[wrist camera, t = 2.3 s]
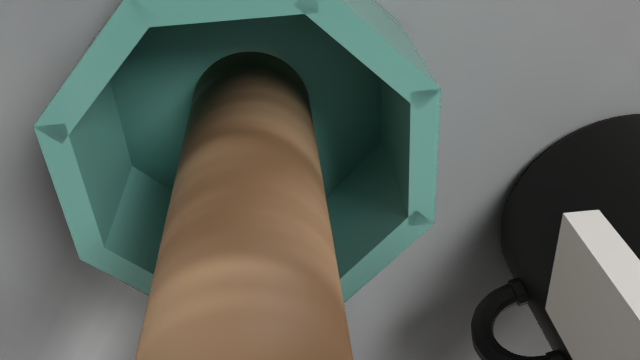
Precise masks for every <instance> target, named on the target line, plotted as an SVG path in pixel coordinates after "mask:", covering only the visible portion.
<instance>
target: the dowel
mask: <svg viewBox="0 0 640 360" xmlns="http://www.w3.org/2000/svg"><path fill="white" fill-rule="evenodd" d="M135 360H353V355H352V350H351V344H350V338H349V332H348V326H347V320H346V314H345V308H344V302H343V296H342V290H341V285H340V279H339V273H338V267H337V261H336V255H335V249H334V243H333V237H332V231H331V225H330V219H329V214H328V208H327V202H326V196H325V190H324V184H323V178H322V172H321V166H320V160H319V154H318V148H317V143H316V137H315V131H314V125H313V119H312V113H311V107H310V101H309V95H308V92H307V88H306V86H305V84H304V82H303V80H302V79H301V77H300V76H299V74H298V73H297V72H296V71H295V70H294V69H293V68H292V67H291V66H290V65H289V64H287V63H286V62H284V61H283V60H281V59H279V58H277V57H275V56H272V55H269V54H266V53H261V52H239V53H234V54H231V55H228V56H226V57H223V58H221V59H219V60H218V61H216V62H215V63H213V64H212V65H211V66H210V67H209V68H208V69H207V70H206V71H205V72H204V73H203V74H202V76H201V77H200V79H199V81H198V83H197V85H196V87H195V90H194V94H193V99H192V103H191V108H190V113H189V117H188V122H187V126H186V131H185V135H184V140H183V144H182V149H181V153H180V158H179V163H178V167H177V172H176V176H175V181H174V185H173V190H172V194H171V199H170V203H169V208H168V212H167V217H166V222H165V226H164V231H163V235H162V240H161V244H160V249H159V253H158V258H157V262H156V267H155V271H154V276H153V281H152V285H151V290H150V294H149V299H148V303H147V308H146V312H145V317H144V321H143V326H142V330H141V335H140V340H139V344H138V349H137V353H136V358H135Z"/></svg>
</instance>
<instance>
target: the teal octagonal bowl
mask: <svg viewBox="0 0 640 360" xmlns="http://www.w3.org/2000/svg"><path fill="white" fill-rule="evenodd" d="M239 52H261V53H266V54H269V55H272V56H275V57H277V58H279V59H281V60H283V61H284V62H286V63H287V64H289V65H290V66H291V67H292V68H293V69H294V70H295V71H296V72H297V73H298V74H299V76H300V77H301V79H302V80H303V82H304V84H305V86H306V88H307V92H308V95H309V101H310V107H311V113H312V119H313V125H314V131H315V137H316V143H317V148H318V154H319V160H320V166H321V172H322V178H323V184H324V190H325V196H326V202H327V208H328V214H329V219H330V225H331V231H332V237H333V243H334V249H335V255H336V261H337V267H338V273H339V279H340V285H341V290H342V296H343V302H344V303H345V302H346V301H347V300H348V299H349V298H350V297H352V296H353V295H354V294H355V293H356V292H357V291H358V290H360V289H361V288H362V287H363V286H364V285H365V284H366V283H367V282H369V281H370V280H371V279H372V278H373V277H374V276H375V275H377V274H378V273H379V272H380V271H381V270H382V269H383V268H384V267H386V266H387V265H388V264H389V263H390V262H391V261H392V260H394V259H395V258H396V257H397V256H398V255H399V254H400V253H401V252H403V251H404V250H405V249H406V248H407V247H408V246H409V245H411V244H412V243H413V242H414V241H415V240H416V239H417V238H418V237H420V236H421V235H422V234H423V233H424V232H425V231H426V230H428V229H429V228H430V227H431V226H432V225H433V224H434V220H435V199H436V179H437V158H438V138H439V117H440V97H441V88H440V87H439V85H438V84H437V82H436V81H435V79H434V77H433V76H432V74H431V73H430V71H429V69H428V68H427V66H426V65H425V63H424V61H423V60H422V58H421V57H420V55H419V54H418V52H417V50H416V49H415V47H414V46H413V44H412V42H411V41H410V39H409V38H408V36H407V34H406V33H405V31H404V30H403V28H402V27H401V25H400V24H399V23H398V22H397V21H396V20H395V19H394V18H393V17H392V16H390V15H389V14H388V13H387V12H386V11H385V10H384V9H383V8H382V7H381V6H379V5H378V4H377V3H376V2H375V1H374V0H121V2H120V3H119V5H118V6H117V7H116V9H115V10H114V12H113V13H112V14H111V16H110V17H109V19H108V20H107V21H106V23H105V24H104V26H103V27H102V28H101V30H100V31H99V33H98V34H97V36H96V37H95V38H94V40H93V41H92V43H91V44H90V45H89V47H88V48H87V50H86V51H85V52H84V54H83V55H82V57H81V58H80V59H79V61H78V62H77V64H76V65H75V67H74V68H73V70H72V71H71V73H70V74H69V75H68V77H67V78H66V80H65V81H64V83H63V84H62V86H61V87H60V89H59V90H58V91H57V93H56V94H55V96H54V97H53V99H52V100H51V102H50V103H49V104H48V106H47V107H46V109H45V110H44V112H43V113H42V115H41V116H40V118H39V119H38V120H37V122H36V123H35V125H34V126H33V127H34V130H35V133H36V136H37V138H38V141H39V144H40V147H41V150H42V153H43V156H44V159H45V161H46V164H47V167H48V170H49V173H50V176H51V179H52V181H53V184H54V187H55V190H56V193H57V196H58V199H59V201H60V204H61V207H62V210H63V213H64V216H65V219H66V222H67V224H68V227H69V230H70V233H71V236H72V239H73V242H74V244H75V247H76V250H77V253H78V256H79V259H80V260H82V261H84V262H86V263H88V264H90V265H92V266H93V267H95V268H97V269H99V270H101V271H103V272H105V273H107V274H109V275H111V276H112V277H114V278H116V279H118V280H120V281H122V282H124V283H126V284H128V285H130V286H132V287H133V288H135V289H137V290H139V291H141V292H143V293H145V294H147V295H149V294H150V290H151V285H152V281H153V276H154V271H155V267H156V262H157V258H158V253H159V249H160V244H161V240H162V235H163V231H164V226H165V222H166V217H167V212H168V208H169V203H170V199H171V194H172V190H173V185H174V181H175V176H176V172H177V167H178V163H179V158H180V153H181V149H182V144H183V140H184V135H185V131H186V126H187V122H188V117H189V113H190V108H191V103H192V99H193V94H194V90H195V87H196V85H197V83H198V81H199V79H200V77H201V76H202V74H203V73H204V72H205V71H206V70H207V69H208V68H209V67H210V66H211V65H212V64H213V63H215V62H216V61H218V60H219V59H221V58H223V57H226V56H228V55H231V54H234V53H239Z"/></svg>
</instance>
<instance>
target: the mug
mask: <svg viewBox="0 0 640 360" xmlns="http://www.w3.org/2000/svg"><path fill="white" fill-rule="evenodd" d="M590 210H600V212H601V213H602V214H603V215H604V217H605V218H606V219H607V220H608V222H609V223H610V224H611V225H612V227H613V228H614V229H615V230H616V231H617V233H618V234H619V235H620V236H621V238H622V239H623V240H624V241H625V243H626V244H627V245H628V246H629V248H630V249H631V250H632V251H633V253H634V254H635V255H636V256H637V257H638V259H639V260H640V114H631V115H624V116H618V117H613V118H609V119H605V120H602V121H598V122H596V123H593V124H591V125H588V126H586V127H583V128H581V129H579V130H577V131H575V132H573V133H572V134H570V135H568V136H566V137H564V138H563V139H561V140H560V141H558V142H557V143H556V144H554V145H553V146H552V147H550V148H549V149H548V150H546V151H545V152H544V153H543V154H542V155H541V156H540V157H539V158H537V159H536V160H535V161H534V162H533V163H532V164H531V166H530V167H529V168H528V169H527V170H526V171H525V173H524V174H523V175H522V176H521V178H520V179H519V181H518V182H517V184H516V186H515V187H514V189H513V190H512V192H511V195H510V197H509V199H508V201H507V204H506V207H505V210H504V214H503V218H502V224H501V247H502V253H503V256H504V259H505V261H506V263H507V266H508V267H509V269H510V271H511V273H512V275H513V277H514V279H512V280H509V281H508V284H506V285H504V286H502V287H500V288H498V289H496V290H494V291H492V292H491V293H489V294H488V295H487V296H486V297H485V298H484V299H483V300H482V301H481V302H480V304H479V305H478V306H477V308H476V310H475V313H474V315H473V318H472V323H471V332H472V341H473V346H474V348H475V351H476V352H477V354H478V355H479V357H480V358H481V360H573V359H572V357H571V355H570V354H569V352H568V350H567V348H566V346H565V344H564V343H563V341H562V339H561V337H560V335H559V333H558V332H557V330H556V328H555V326H554V324H553V322H552V321H551V319H550V317H549V315H548V313H547V311H546V310H545V307H546V302H547V296H548V291H549V286H550V280H551V275H552V270H553V264H554V259H555V254H556V248H557V243H558V238H559V232H560V227H561V222H562V216H563V213H569V212H579V211H590ZM515 304H517V305H518V306H521V305H524V304H528V305H529V307H530V309H531V310H532V312H533V314H534V316H535V318H536V320H537V322H538V324H539V325H540V327H541V329H542V331H543V333H544V335H545V337H546V339H547V340H548V342H549V344H550V346H551V348H552V350H553V351H551V352H548V353H546V355H544V356H535V357H527V356H521V355H517V354H514V353H511V352H509V351H508V350H506V349H504V348H503V347H502V346H501V345H500V344H499V343H498V342H497V341H496V339H495V338H494V335H493V325H494V321H495V319H496V318H497V316H498V315H499V314H500V313H501V312H503V311H504V310H505V309H507V308H509V307H511V306H513V305H515Z"/></svg>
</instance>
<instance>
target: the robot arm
mask: <svg viewBox="0 0 640 360" xmlns="http://www.w3.org/2000/svg"><path fill="white" fill-rule="evenodd" d="M545 310H546V311H547V313H548V315H549V317H550V319H551V321H552V322H553V324H554V326H555V328H556V330H557V332H558V333H559V335H560V337H561V339H562V341H563V343H564V344H565V346H566V348H567V350H568V352H569V354H570V355H571V357H572V359H573V360H640V260H639V259H638V257H637V256H636V255H635V254H634V253H633V251H632V250H631V249H630V248H629V246H628V245H627V244H626V243H625V241H624V240H623V239H622V238H621V236H620V235H619V234H618V233H617V231H616V230H615V229H614V228H613V227H612V225H611V224H610V223H609V222H608V220H607V219H606V218H605V217H604V215H603V214H602V213H601V212H600V210H590V211H579V212H569V213H563V216H562V222H561V227H560V232H559V238H558V243H557V248H556V254H555V259H554V264H553V270H552V275H551V280H550V286H549V291H548V296H547V302H546V307H545Z"/></svg>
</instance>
